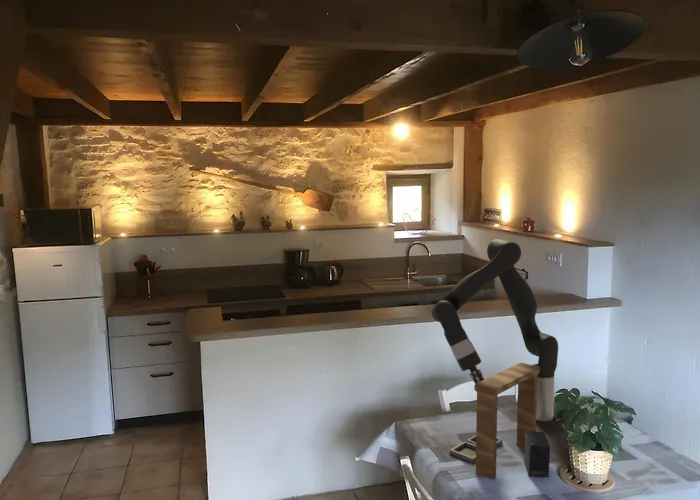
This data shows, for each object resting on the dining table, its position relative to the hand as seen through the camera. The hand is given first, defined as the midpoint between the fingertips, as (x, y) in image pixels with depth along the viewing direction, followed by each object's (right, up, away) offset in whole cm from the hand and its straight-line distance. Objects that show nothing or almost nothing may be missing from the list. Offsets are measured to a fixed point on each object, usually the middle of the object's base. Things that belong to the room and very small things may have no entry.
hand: (489, 400), depth 189 cm
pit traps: (-4, -17, +3) cm, 18 cm away
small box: (+12, -19, -11) cm, 25 cm away
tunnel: (+4, -18, -6) cm, 19 cm away
